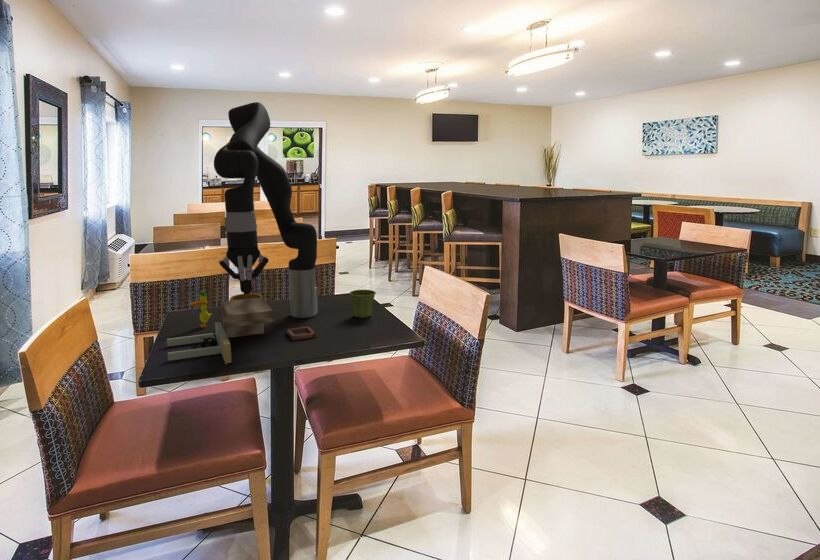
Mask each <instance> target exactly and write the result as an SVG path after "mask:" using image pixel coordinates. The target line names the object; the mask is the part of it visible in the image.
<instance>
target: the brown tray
mask: <svg viewBox="0 0 820 560" xmlns="http://www.w3.org/2000/svg"><path fill="white" fill-rule="evenodd" d="M286 334H287V335H288V337H289V338H290V339H291V340H292V341H301V340H307V339H315V338H316V333H315V331H314V330H313V329H312V328H311V327H310V326H301V327H295V328H287V329H286Z"/></svg>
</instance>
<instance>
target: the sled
mask: <svg viewBox="0 0 820 560" xmlns="http://www.w3.org/2000/svg"><path fill="white" fill-rule="evenodd" d="M214 328H215V330H214V331H215V336H216V337H217V338H216V340H217V343H218V344H217V345H216V346H213V347H211V346H210V347H209V346H207V347H206V346H205V348H202V347H200V348H199V347H197V348H196V349H195V348H193V349H191V348H190V349H185V350H183V349H182V350H177V351H170V352H169V351H168V352H167V360H168V361H177V360H184V359H191V358H199V357H205V356H206V357H207V356H211V355H218V354H221V356H222V359H223V362H224V361H225V362H224V365H227V364H226V363H231V362H232V348H231V343H230V340H229V338H226V334H225V331H224V327H223V324H222V323H221V322H220V321H218V322H214ZM200 337H201V339H200ZM202 337H204V338H205V339H207V338H214V340H215V337H214V332H211V333H210V332H209V333H203V334H196V335H189V336H188V335H187V336H179V337H178V336H177V337H172V338H166V344H167V345H166V346H167V347H174V346H182V345H188V344H197V343H203V341H204V340H203V338H202ZM207 342H212V340H211V339H209V340H208V341H207ZM232 363H233V362H232Z"/></svg>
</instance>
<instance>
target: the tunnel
mask: <svg viewBox="0 0 820 560" xmlns="http://www.w3.org/2000/svg"><path fill="white" fill-rule="evenodd" d="M221 311H222V323H223V324H222V327H223V329H224V331H225V334H226V339H230V338H229V337H231V338H237V337H238V336H239V337H245V336H246V337H247V336H254V335H260V334H265V324H268V323H274V311H273V309H272V308H271V307H270V306H269V304H268V303H267V302H266V301H265V300H264V299H263V297H262V298H252V299H242V300H232V301H230V300H224V301H221Z"/></svg>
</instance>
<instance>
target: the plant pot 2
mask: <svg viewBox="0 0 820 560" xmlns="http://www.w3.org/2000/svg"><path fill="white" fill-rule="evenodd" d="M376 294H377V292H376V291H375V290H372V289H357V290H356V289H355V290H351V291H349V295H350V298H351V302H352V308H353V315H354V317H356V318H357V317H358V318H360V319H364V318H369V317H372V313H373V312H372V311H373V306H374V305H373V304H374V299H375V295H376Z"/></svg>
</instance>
